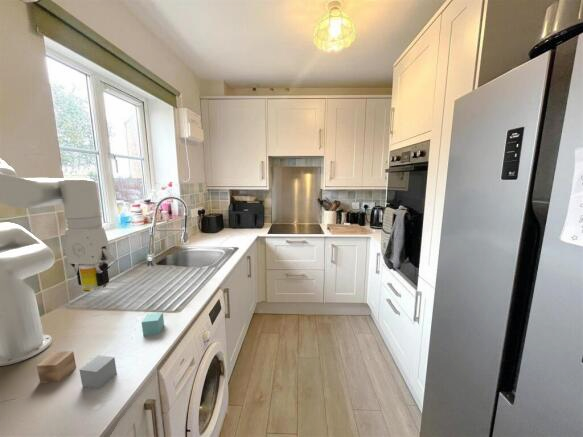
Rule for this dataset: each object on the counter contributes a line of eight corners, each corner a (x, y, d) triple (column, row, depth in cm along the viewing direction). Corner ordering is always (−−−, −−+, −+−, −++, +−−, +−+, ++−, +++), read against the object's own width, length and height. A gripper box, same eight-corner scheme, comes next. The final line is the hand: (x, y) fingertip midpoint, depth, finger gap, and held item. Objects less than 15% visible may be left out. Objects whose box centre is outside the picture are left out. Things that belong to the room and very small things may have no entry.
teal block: (143, 335, 81) (141, 322, 80) (149, 326, 85) (147, 314, 85) (159, 333, 82) (157, 320, 81) (164, 325, 86) (162, 312, 86)
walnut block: (40, 382, 62) (36, 365, 62) (58, 367, 67) (55, 351, 67) (59, 382, 62) (56, 365, 62) (76, 367, 67) (73, 351, 67)
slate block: (82, 387, 61) (79, 369, 60) (101, 371, 66) (98, 355, 65) (99, 389, 60) (96, 371, 59) (116, 373, 65) (114, 357, 64)
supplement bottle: (108, 289, 71) (104, 256, 69) (84, 296, 67) (78, 261, 65) (105, 283, 75) (100, 252, 73) (81, 290, 71) (76, 256, 69)
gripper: (44, 225, 65) (55, 287, 68) (98, 226, 62) (108, 291, 65) (72, 220, 72) (82, 277, 75) (122, 221, 70) (130, 280, 73)
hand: (94, 283), depth 70 cm, fingers closed on supplement bottle, 5 cm apart
